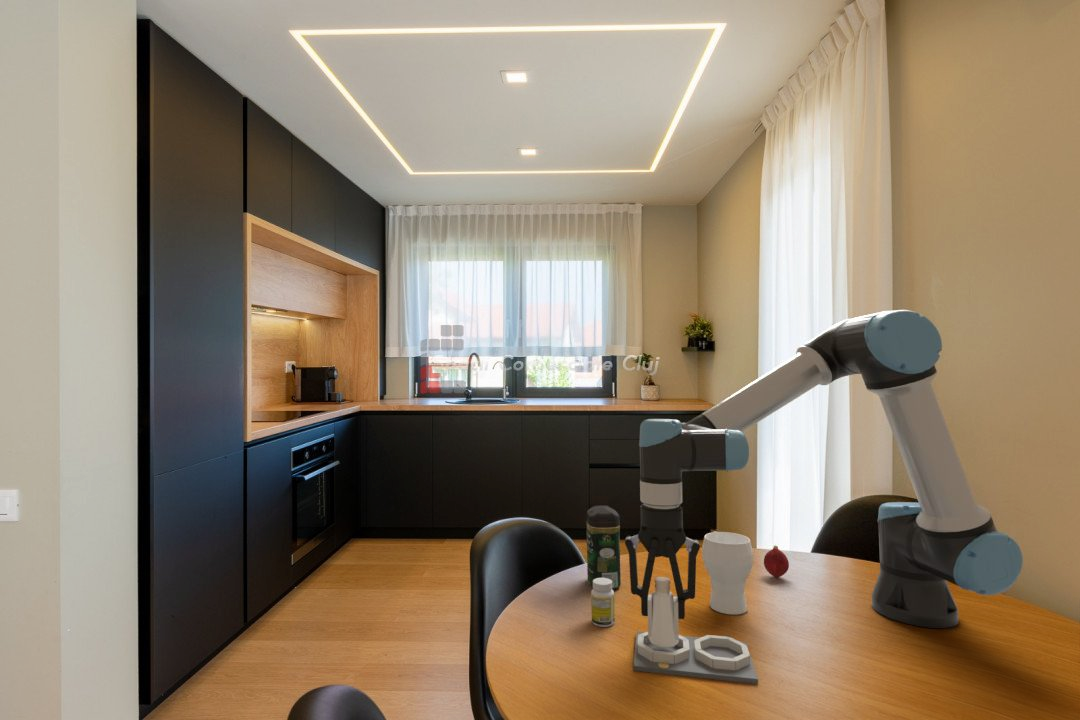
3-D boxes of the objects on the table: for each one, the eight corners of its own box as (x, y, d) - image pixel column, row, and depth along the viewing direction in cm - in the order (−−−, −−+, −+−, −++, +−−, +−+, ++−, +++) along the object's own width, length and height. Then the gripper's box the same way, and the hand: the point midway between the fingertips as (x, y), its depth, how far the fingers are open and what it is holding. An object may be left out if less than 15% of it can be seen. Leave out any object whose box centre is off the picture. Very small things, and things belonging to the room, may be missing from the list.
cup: (758, 619, 111) (757, 546, 112) (705, 615, 114) (704, 543, 114) (749, 599, 122) (748, 532, 122) (700, 596, 124) (699, 530, 125)
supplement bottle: (601, 615, 114) (601, 575, 114) (619, 622, 111) (618, 580, 111) (586, 622, 111) (586, 581, 111) (604, 630, 107) (604, 587, 108)
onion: (793, 582, 132) (792, 549, 133) (769, 582, 132) (769, 549, 133) (783, 574, 138) (782, 542, 138) (760, 574, 138) (759, 542, 138)
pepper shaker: (650, 632, 101) (649, 572, 101) (680, 636, 99) (679, 575, 99) (646, 645, 96) (644, 582, 96) (677, 650, 94) (676, 586, 94)
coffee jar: (585, 577, 136) (584, 503, 137) (616, 577, 136) (615, 503, 137) (590, 592, 127) (589, 512, 127) (623, 591, 127) (622, 512, 128)
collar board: (745, 646, 100) (745, 633, 100) (758, 684, 88) (757, 669, 88) (636, 635, 105) (636, 623, 105) (633, 670, 92) (633, 656, 92)
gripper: (707, 501, 100) (710, 629, 99) (616, 498, 104) (617, 621, 103) (711, 511, 93) (714, 649, 92) (612, 506, 97) (614, 640, 96)
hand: (663, 634), depth 97 cm, fingers closed on pepper shaker, 4 cm apart
